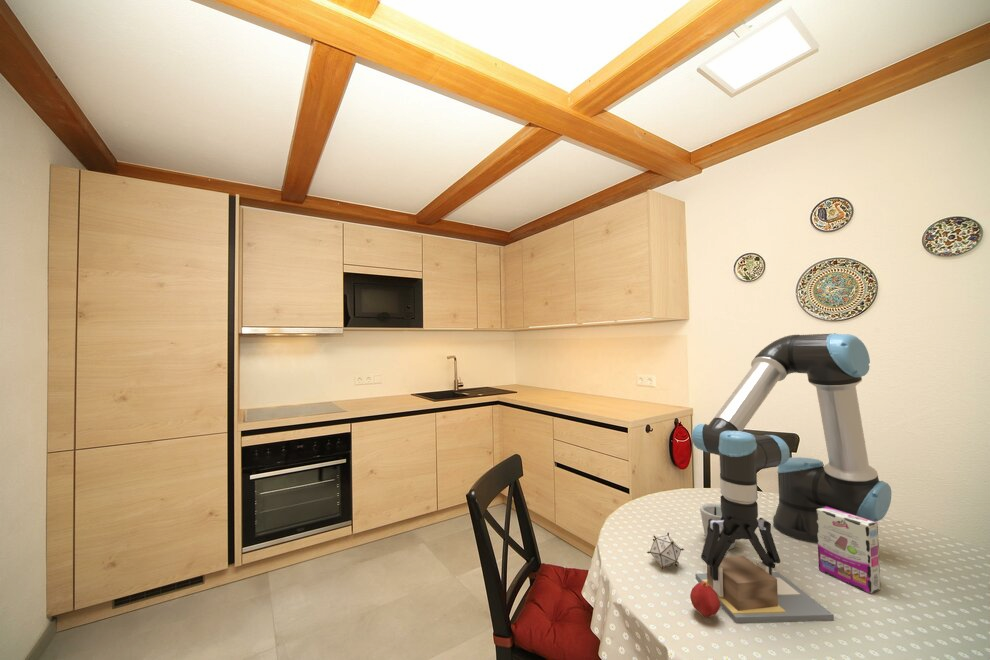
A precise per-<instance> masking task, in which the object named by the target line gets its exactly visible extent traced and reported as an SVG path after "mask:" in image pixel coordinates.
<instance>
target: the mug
mask: <svg viewBox="0 0 990 660" xmlns="http://www.w3.org/2000/svg"><path fill="white" fill-rule="evenodd" d="M699 511H700V516H701V522H702V528H703V532H704V538H705V539H704V540H706V537H707V533H708V529H709V524H708V520H709V519H712V520H714V521H718V520H720V519H721V517H722V512H721V503H704V504H701V505H700V506H699ZM722 530H723V526H722V527H721V531H720V534H719V539H720V537H721V532H722ZM727 535H728V536H729V537H730V535H729V534H727ZM719 539H718V540H719ZM735 546H736V541H735V542H734V543H732V544H731V546H730V547H729V549H728V550H732V549H734V548H735Z"/></svg>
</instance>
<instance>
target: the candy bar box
mask: <svg viewBox="0 0 990 660" xmlns="http://www.w3.org/2000/svg"><path fill="white" fill-rule="evenodd" d="M816 512H817V536H818V543H817V555H818V560H817V561H818V571H820V572H822V573H823V574H826V575H828V576H831V577H833V578H836V580H839V581H841V582H844V583H846V584H848V585H851V586H853V587H854V586H855V588H857V589H859V590H862V591H864V592H866V593H867V594H870V595H871V594H873V593H876V592H878V591H880V590H881V589H882V587H881V586H882V585H881V583H882V582H881V567H880V563H881V562H880V546H879V527H878V525H879V524H878V521H877V522H874V521H871V520H868V519H865V518H862V517H858V516H855V515H852V514H849V513H846V512H843V511H839V510H836V509H833V508H830V507H827V506H826V507H822V508H819V509H816Z"/></svg>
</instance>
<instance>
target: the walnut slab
mask: <svg viewBox="0 0 990 660" xmlns="http://www.w3.org/2000/svg"><path fill="white" fill-rule="evenodd" d="M720 566H721V567H722V568H723V598H724V599H725V600H727V601H728V602H729V603H730V604H731V605H732V606H733V607H734V608H735V609H737V610H738V611H742V610H751V609H760V608H768V607H777V606H778V592H777V579H776V578H775V577H773V576H772V575H770V574H769V573H767V572H766V571H764V570H763V569H762V568H760V567H759V566H758V564H756V563H755V562H753V561H752V560H750V559H749V558H748V557H746V556H744V555H735V556H734V555H733V556H725V557H724V558H723V560H722V562H721V564H720ZM706 573H707V583H708V584H709V585H710V586H711V587H712V588H713V579H712V578H711V577H710V565H707V564H706Z"/></svg>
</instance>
